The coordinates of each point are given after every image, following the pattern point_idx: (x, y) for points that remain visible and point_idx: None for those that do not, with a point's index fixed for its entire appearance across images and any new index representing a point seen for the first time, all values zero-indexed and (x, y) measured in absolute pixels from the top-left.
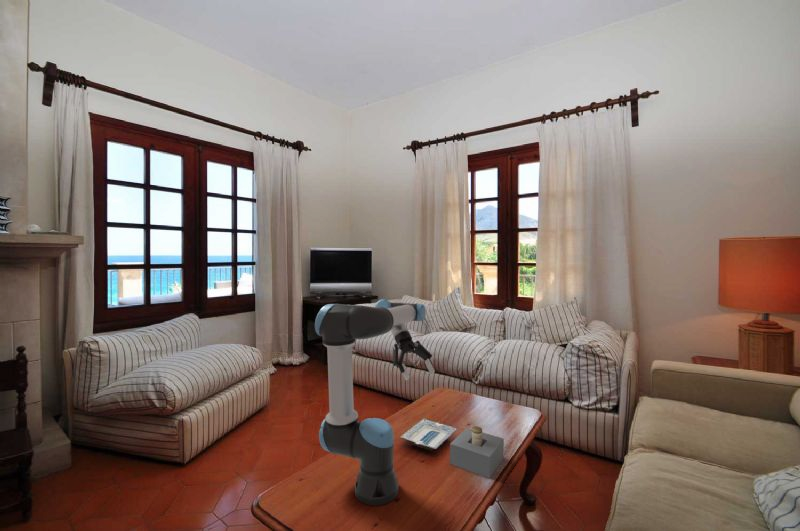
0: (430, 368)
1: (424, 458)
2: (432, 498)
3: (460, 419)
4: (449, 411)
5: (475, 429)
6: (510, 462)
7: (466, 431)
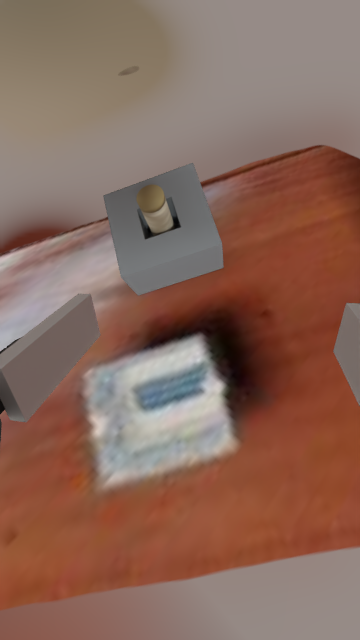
0: (73, 329)
1: (254, 319)
2: (333, 211)
3: None
4: (13, 461)
5: (156, 195)
6: None
7: (138, 263)
